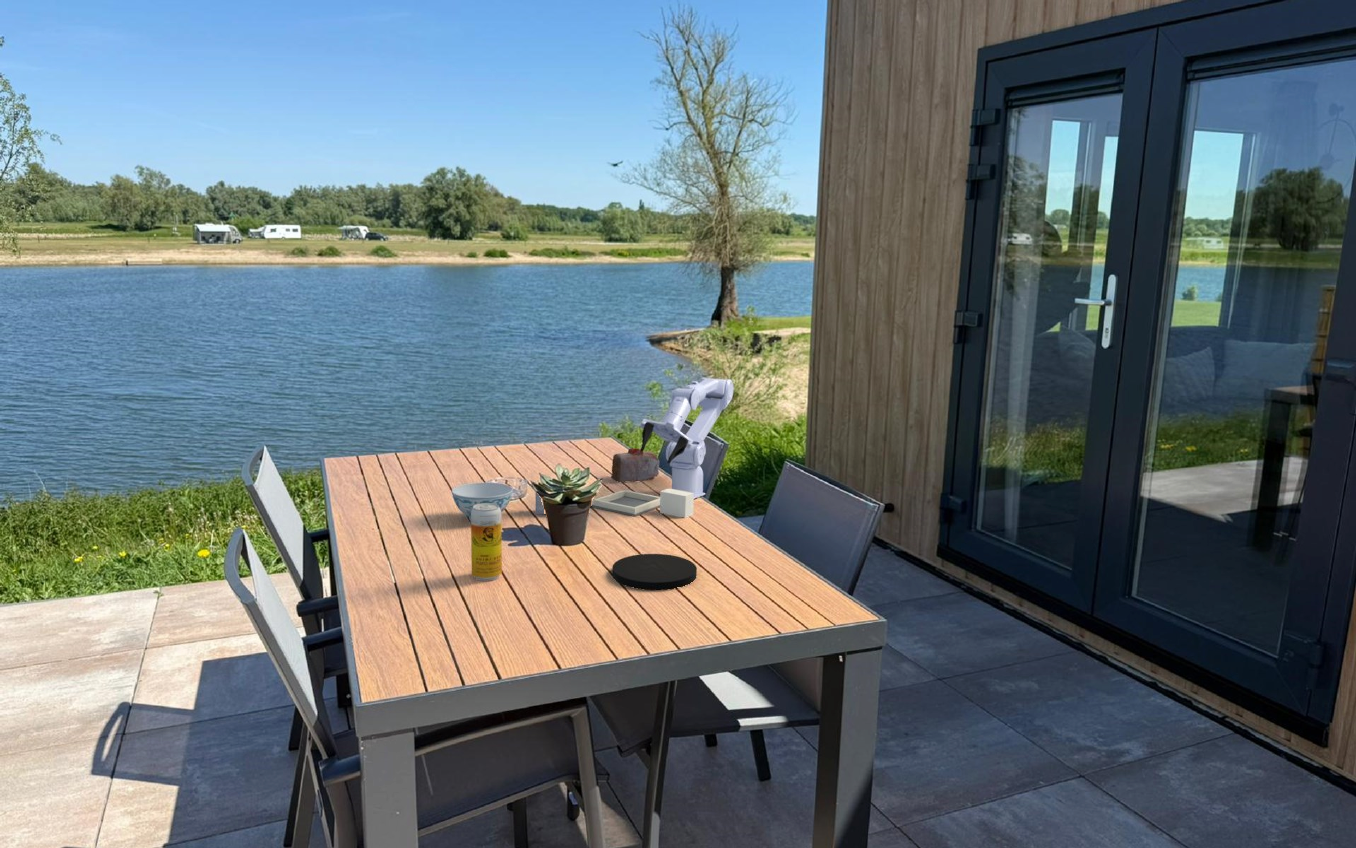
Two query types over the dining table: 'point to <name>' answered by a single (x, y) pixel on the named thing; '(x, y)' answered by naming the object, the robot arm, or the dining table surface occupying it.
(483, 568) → the beer can
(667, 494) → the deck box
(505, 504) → the chinaware
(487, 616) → the dining table surface
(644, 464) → the food item
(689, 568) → the wireless charger
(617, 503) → the shallow square tray
